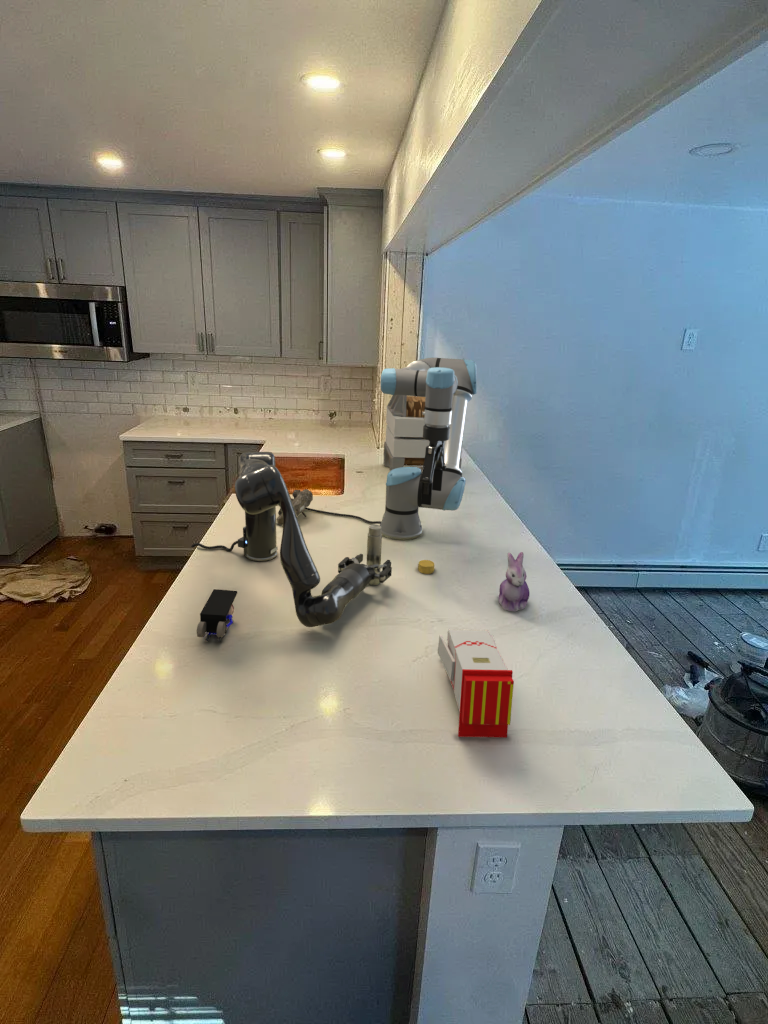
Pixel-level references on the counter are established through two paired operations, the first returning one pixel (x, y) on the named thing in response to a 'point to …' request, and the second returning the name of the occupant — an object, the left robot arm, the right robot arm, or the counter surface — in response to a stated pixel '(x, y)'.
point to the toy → (478, 682)
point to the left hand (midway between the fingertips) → (375, 559)
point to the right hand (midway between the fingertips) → (431, 497)
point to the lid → (426, 566)
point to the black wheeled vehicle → (217, 614)
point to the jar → (374, 548)
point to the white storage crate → (405, 432)
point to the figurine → (514, 585)
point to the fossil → (298, 503)
